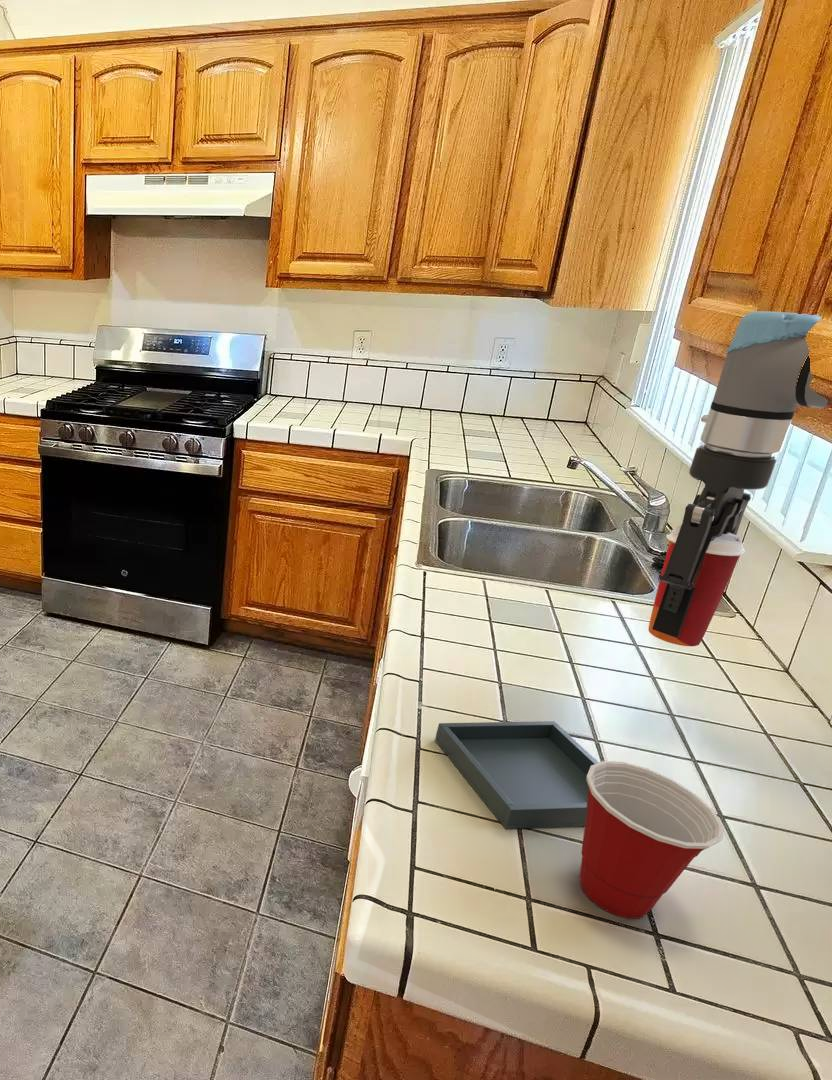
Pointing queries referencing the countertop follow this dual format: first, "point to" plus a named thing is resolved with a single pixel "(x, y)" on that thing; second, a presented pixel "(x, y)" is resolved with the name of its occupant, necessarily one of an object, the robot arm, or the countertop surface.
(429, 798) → the countertop surface
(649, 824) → the plastic cup
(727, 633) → the countertop surface
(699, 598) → the paper cup
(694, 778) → the countertop surface
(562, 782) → the tray
